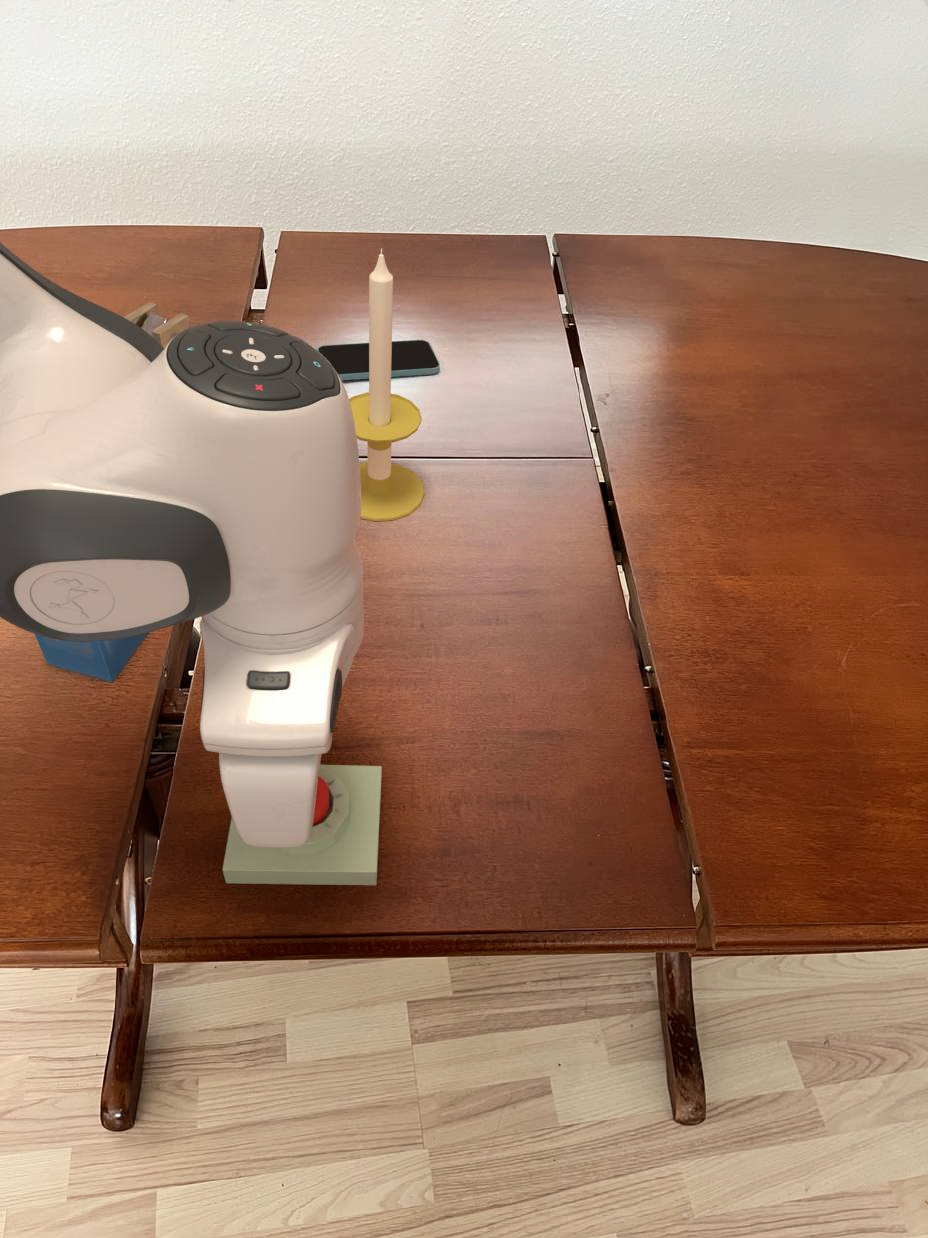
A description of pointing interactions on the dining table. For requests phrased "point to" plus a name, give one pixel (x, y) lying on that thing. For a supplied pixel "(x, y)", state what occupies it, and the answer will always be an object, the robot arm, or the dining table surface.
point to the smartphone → (404, 359)
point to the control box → (321, 839)
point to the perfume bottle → (90, 655)
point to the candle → (384, 416)
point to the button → (321, 801)
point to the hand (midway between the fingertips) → (301, 749)
